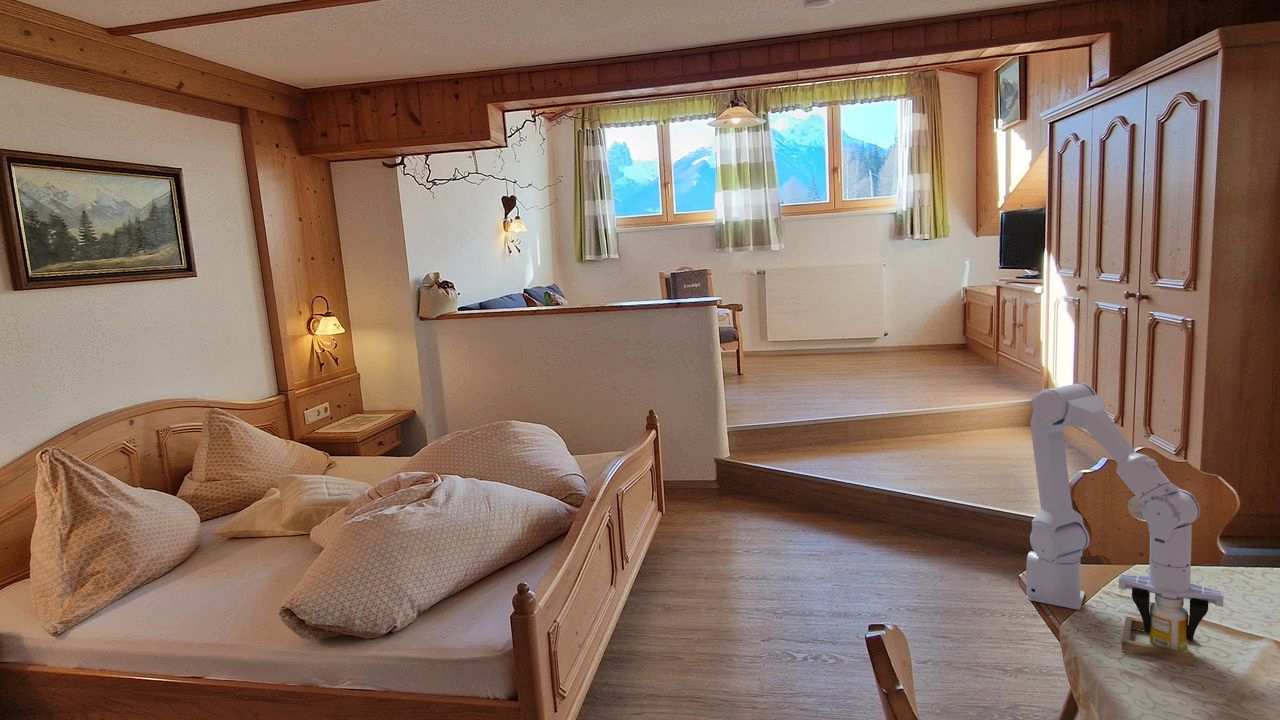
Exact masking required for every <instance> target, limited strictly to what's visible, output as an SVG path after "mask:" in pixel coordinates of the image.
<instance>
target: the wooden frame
mask: <svg viewBox="0 0 1280 720" xmlns="http://www.w3.org/2000/svg"><path fill="white" fill-rule="evenodd" d="M1132 628H1135V629H1140V630H1144V631H1145V627H1144V623H1143V620H1142V618H1138V617H1137V618H1136V617H1133V616H1132V617H1131V616H1126V615H1125V618H1124V625H1123V631H1122V637H1121V650H1125V651H1128V652H1127V653H1129V652H1132V653H1131V654H1134V653H1135V655H1138V654H1139V656H1143V657H1147V656H1148V658H1152V657H1153V659H1157V660H1163V661H1167V662H1171V663H1175V664H1180V665H1184V666H1187V667H1194V664H1195V663H1194V661H1195V660H1194V658H1195V655H1194V653H1192V652H1188V651H1187V652H1183V651H1178V650H1173V649H1169V648H1164V647H1159V646H1155V645H1151V644H1150V643H1145V642H1140V641H1134V640H1131V638H1130V637H1131V636H1132V631H1131V630H1133V629H1132ZM1144 631H1143V632H1144ZM1194 636H1195V635H1194ZM1194 636H1193V641H1192V642H1195V641H1194V639H1195V637H1194ZM1125 651H1124V652H1125ZM1149 656H1150V657H1149Z"/></svg>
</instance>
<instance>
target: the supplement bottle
mask: <svg viewBox="0 0 1280 720" xmlns="http://www.w3.org/2000/svg"><path fill="white" fill-rule="evenodd" d="M1184 599H1185V598H1180V597H1177V598H1175V599H1173V598H1167V597H1163V596H1162V595H1161V594H1157V593H1154V602H1151V604H1150V605H1149V611H1150V633H1149V644H1150V645H1155V646H1159V647H1164V648H1169V649H1173V650H1178V651H1183V652H1188V648H1189V647H1188V646H1189V645H1188V644H1189V643H1188V624H1189V611H1188V610H1187V609H1186V608H1185V607H1184V604H1185V603H1184V601H1185V600H1184Z"/></svg>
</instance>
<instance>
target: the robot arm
mask: <svg viewBox="0 0 1280 720" xmlns="http://www.w3.org/2000/svg"><path fill="white" fill-rule="evenodd" d="M1031 402H1032V403H1031V406H1032V411H1033V412H1032V415H1031V418H1030V432H1031V440H1032V449H1033V456H1034V464H1035V472H1036V473H1035V474H1036V478H1037V479H1036V481H1037V489H1038V494H1039V497H1038V498H1039V504H1040V510H1039V511H1038V512H1037V514H1036V515H1035V516H1034V518H1033V519H1032V521H1031V532H1030V536H1029V542H1030V546H1031V548H1032V550H1031V551H1029V552H1028V553H1027V556H1026V564H1025V565H1026V567H1025V568H1026V575H1025V576H1026V577H1025V578H1026V583H1025V584H1026V585H1025V586H1026V596H1025V599H1026V600H1027V601H1028V600H1029V601H1033V602H1038V603H1042V604H1048V605H1052V606H1059V607H1062V608H1066V609H1067V608H1068V609H1071V610H1072V609H1073V610H1077V611H1079V610H1081V608H1082V604H1083V601H1084V597H1085V594H1086V592H1085V591H1083V590H1081V557H1083V551H1084V550H1086V549H1087V548H1088V546H1089V545H1090V534H1089V531H1088V530H1087V529H1086V526H1085V524H1084V519H1083V515H1081V514H1080V513H1079V512H1077V511H1076V510H1074V508H1073V503H1072V501H1073V500H1072V495H1071V487H1070V485H1071V484H1070V479H1069V471H1068V463H1067V454H1066V446H1065V438H1064V431H1065V430H1066V429H1067V428H1068V427H1074V428H1080V429H1083V430H1086V431H1087V432H1088V434H1090V435H1091V437H1092V438H1093V439H1094V440H1095V441H1096V442H1097V443H1098V444H1099V445H1100V446H1101V448H1103V449H1104V450H1105V451H1106V453H1108V454H1109V455H1110V457H1112V459H1113V460H1114V461H1115V462H1116V463H1117V466H1116V474H1117V475H1118V477H1120V479H1121V480H1122V481H1123V482H1124V484H1125V485H1126V486H1127V487H1128V489H1130V491H1131V492H1132V493H1133V494H1134V495H1135V497H1136V498H1137V499H1138V501H1140V503H1141V504H1142V505H1143V506H1144V507H1141V514H1142V517H1143V519H1144V520H1145V521H1146V523H1147V526H1148V533H1149V572H1148V574H1149V575H1147V576H1146V575H1129V574H1121V573H1120V574H1119V576H1118V589H1120V590H1127V589H1129V590H1131V599H1132V601H1133V602H1134V604H1135V606H1136V607H1137V610H1138V612H1139V614H1140V617H1141V619H1142V620H1143V623H1144V627H1145V633H1149V634H1150V602H1151V601H1150V599H1151V597H1150V596H1151V595H1150V594H1151V593H1152V594H1155V593H1157V594H1161V595H1162V596H1163V597H1167V598H1173V599H1175V598H1177V597H1180V598H1184V599H1186V600H1189V614H1188V641H1189V642H1193V636H1195V632H1196V631H1197V628H1198V626H1199V625H1200V622H1201V621H1202V619H1204V617H1205V616H1206V615H1207V613H1208V611H1209V604H1214V605H1215V606H1217V607H1221V608H1223V607H1224V599H1225V598H1224V590H1223V591H1222V590H1217V589H1212V588H1209V587H1205V586H1202V585H1199V584H1194V583H1192V582H1191V573H1192V572H1191V565H1192V564H1191V563H1192V562H1191V561H1192V531H1193V530H1192V528H1193V527H1192V526H1193V525H1192V524H1191V523H1194V522H1195V521H1197V520H1198V519H1199V518H1200V514H1201V507H1200V503H1199V502H1198V501H1197V499H1196V497H1195V495H1194V494H1192V493H1191V492H1189V491H1187V490H1186V489H1185V490H1184V489H1181V488H1180V487H1178V486H1177V485H1175V484H1173V483H1172V481H1170V479H1169V478H1168V477H1167V476H1166V474H1164V472H1163V471H1162V470H1161V469H1160V468H1159V464H1158V463H1157V462H1158V461H1156V460H1155V459H1154V458H1151V457H1150V456H1149V455H1147V454H1143V453H1139V452H1136V450H1135V449H1134V448H1133V446H1132V445H1131V444H1130V443H1129V441H1128V440H1127V438H1126V437H1125V436H1124V435H1123V433H1122V432H1121V431H1120V428H1118V427H1117V425H1116V424H1115V422H1114V421H1113V420H1112V418H1111V417H1110V416H1109V414H1108V413H1107V412H1106V410H1105V408H1104V407H1105V406H1104V401H1103V398H1101V397H1100V396H1099V395H1098V394H1097V392H1096V390H1095V389H1094V388H1093V387H1092V386H1091V385H1089V384H1088V383H1085V382H1076V383H1075V382H1074V383H1073V384H1068V385H1063V386H1057V387H1051V388H1044V389H1042V390H1041V391H1039V392H1038V393H1037V394H1036V395H1035V396H1034V397H1033V398H1032V399H1031Z"/></svg>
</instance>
